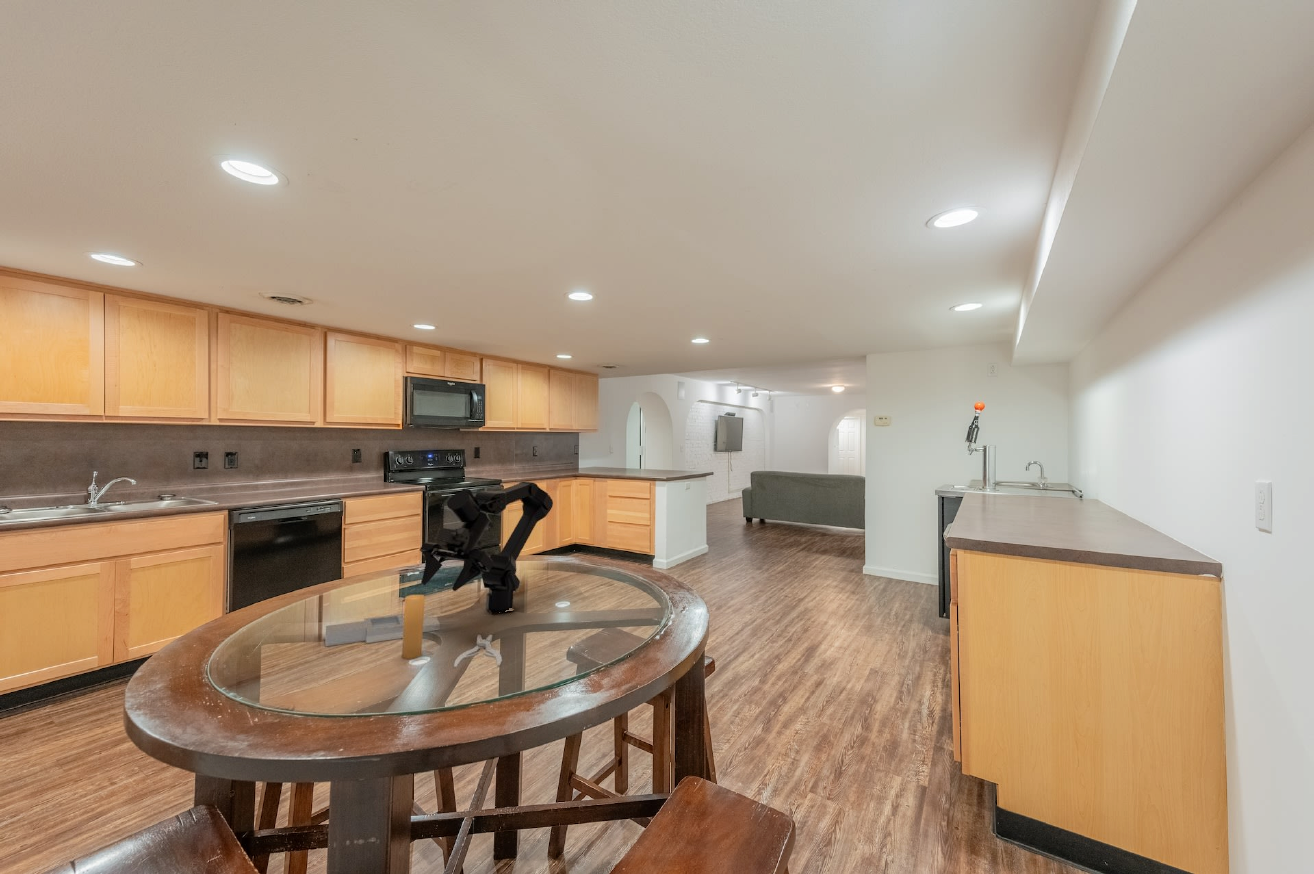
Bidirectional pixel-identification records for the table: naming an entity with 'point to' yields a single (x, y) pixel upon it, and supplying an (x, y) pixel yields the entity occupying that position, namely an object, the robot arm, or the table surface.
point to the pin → (413, 626)
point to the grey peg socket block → (372, 630)
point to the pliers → (481, 645)
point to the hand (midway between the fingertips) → (438, 587)
